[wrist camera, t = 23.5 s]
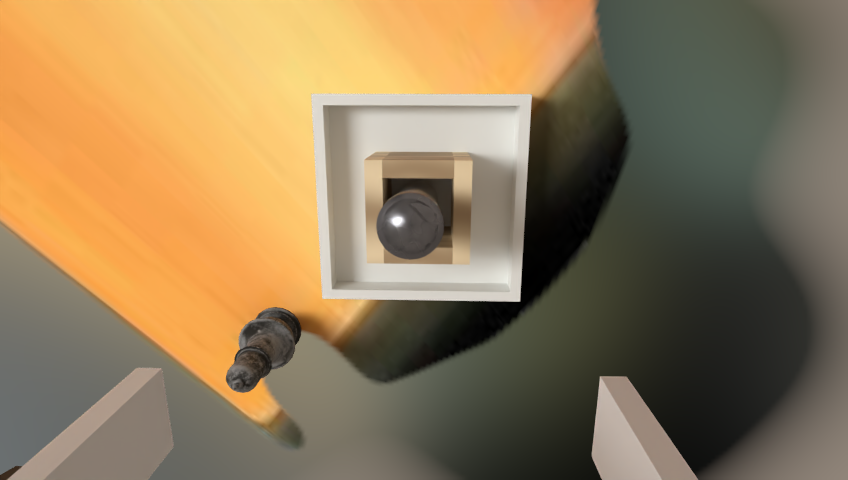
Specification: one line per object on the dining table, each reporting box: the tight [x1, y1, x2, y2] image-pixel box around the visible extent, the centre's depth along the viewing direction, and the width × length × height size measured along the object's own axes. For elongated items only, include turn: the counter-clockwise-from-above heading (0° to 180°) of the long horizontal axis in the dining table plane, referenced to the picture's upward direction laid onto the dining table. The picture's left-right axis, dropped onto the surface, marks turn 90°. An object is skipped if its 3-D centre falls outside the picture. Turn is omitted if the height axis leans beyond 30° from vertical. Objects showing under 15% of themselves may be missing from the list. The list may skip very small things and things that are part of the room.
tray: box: [311, 94, 532, 301], centre depth 49 cm, size 20×20×3 cm
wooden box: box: [364, 152, 473, 265], centre depth 46 cm, size 9×9×8 cm
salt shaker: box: [226, 307, 301, 393], centre depth 49 cm, size 6×6×12 cm
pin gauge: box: [376, 180, 444, 260], centre depth 42 cm, size 5×5×15 cm
